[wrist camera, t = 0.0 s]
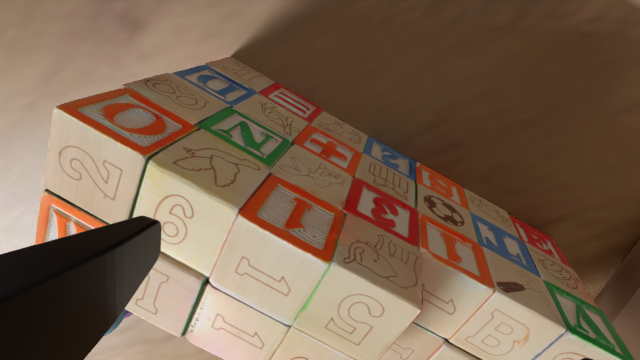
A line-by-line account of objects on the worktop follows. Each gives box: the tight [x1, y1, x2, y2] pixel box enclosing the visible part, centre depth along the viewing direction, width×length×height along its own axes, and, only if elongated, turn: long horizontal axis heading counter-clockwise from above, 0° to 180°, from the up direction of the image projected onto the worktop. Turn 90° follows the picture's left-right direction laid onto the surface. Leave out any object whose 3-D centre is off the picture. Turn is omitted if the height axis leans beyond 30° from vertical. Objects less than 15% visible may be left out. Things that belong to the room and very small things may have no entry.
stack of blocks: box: [35, 57, 635, 360], centre depth 18 cm, size 21×6×12 cm, turn 64°
